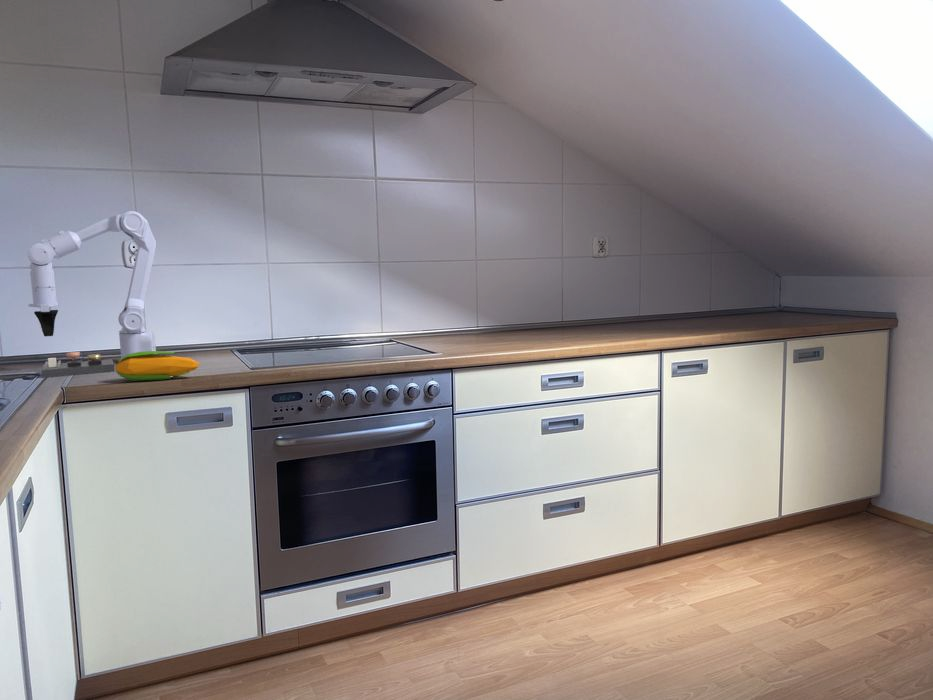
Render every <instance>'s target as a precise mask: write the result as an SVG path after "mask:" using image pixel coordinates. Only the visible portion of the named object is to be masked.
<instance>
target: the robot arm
mask: <svg viewBox="0 0 933 700" xmlns="http://www.w3.org/2000/svg"><path fill="white" fill-rule="evenodd" d="M150 227H151V226H150V224H149V221H148V220H147V219H146V218H145V217H144V216H143V215H142V214H141V213H139V212H138V211H134V210H130V211H126V212H124V213H123V214H122V213H121V214H120V213H119V214H116V215H113V216H108V217H106V218H104V219H102V220H100V221H98V222H96V223H94V224H91V225H89V226H88V227H85V228H84V229H80V230H79V231H76V232H74V231H71V230H65V231H64V230H60V231H58V234H57V235H55V236H52V237H50V238H48V239H46V238H44V239H41V241H40V242H41V243H35V244H33V245H31V246H30V247H29V249H28V252H27V257H28V259H29V261H30V264H29V269H30V271H29V274H30V275H29V276H30V286H31V294H32V303H28V308H29V307H30V308H31V307H33V308H39V309H40V310H39V311H34V313H33V314H34V315H35V316H36V317H37V320H38V322H39V324H40V328H41V330H42V333H43V336H44V337H53V336H54V332H55V322H56V317H57V314H58V312H59V310H58V309H52V308H54V307H58V306H59V303H58V298H57V288H56V279H55V271H54V269H53V262H52V261H53V259H57V260H59V259H60V258H63V257H65V256H67V255H69V254H72V253H75V252H77V251H78V250H80V249H81V245H82V243H84V242H86V241H88V240H91V239H93V238H95V237H98V236H101V235H103V234H106V233H107V232H108V233H109V232H117V233H120V232H123V233H124V234H125V235H126V236H128V237H130V238H131V239H132V241H133V242H134V243H135V245H136V246H137V249H136V250H137V252H136V255H135V260H134V263H133V264H134V265H133V267H132V268H133V269H132V274H131V279H130V284H129V288H128V292H127V297H126V301H125V303H124V307H123V309H122V311H121V312H119V315H118V323H119V325H120V326H121V327H122V328H121V330H119V331H118V335H119V347H120V348H119V349H120V357H121V358H120V359H122V358H123V357H125V356H126V355H128V354H132V353H137V352H145V351H157V348H156V338H155V337H156V336H155V333H154V332H153V331H147V329H146V328H143V327H144V326H145V323H146V320H145V317H144V311H145V300H146V294H147V290H148V286H149V282H150V281H149V280H150V276H151V271H152V268H153V267H152V266H153V262H154V257H155V253H156V247H157V241H156V239H155V237H154V235H153V232H152V229H151V228H150ZM118 361H119V360H118ZM120 361H121V360H120ZM120 361H119V362H120Z"/></svg>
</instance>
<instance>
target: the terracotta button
mask: <svg viewBox="0 0 933 700" xmlns="http://www.w3.org/2000/svg"><path fill="white" fill-rule="evenodd" d="M65 354H66V358H68V359H71V361H77V360H76V359H77V358H80V357H81V352H80V351H70V352H69V351H68V352H66V353H65Z"/></svg>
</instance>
